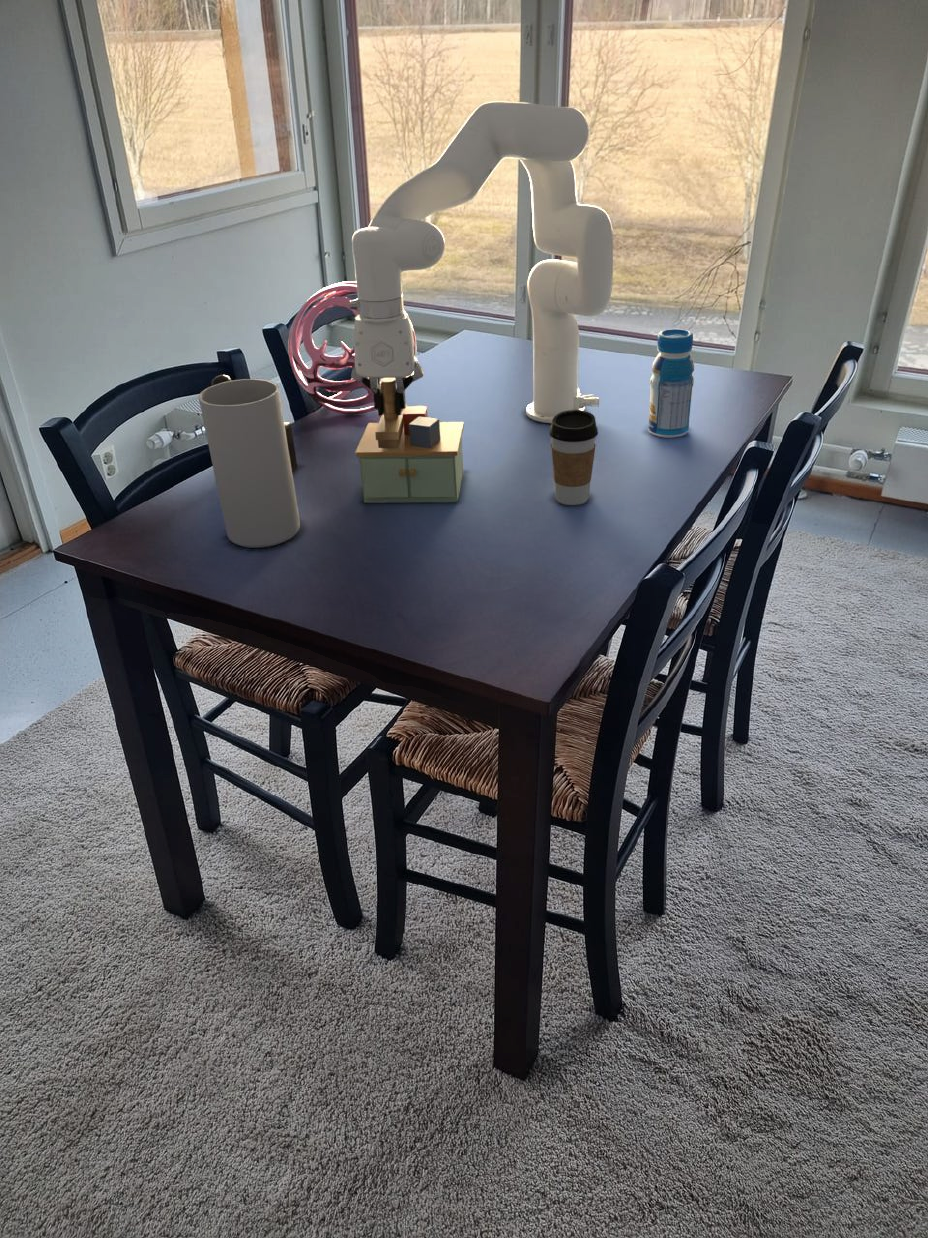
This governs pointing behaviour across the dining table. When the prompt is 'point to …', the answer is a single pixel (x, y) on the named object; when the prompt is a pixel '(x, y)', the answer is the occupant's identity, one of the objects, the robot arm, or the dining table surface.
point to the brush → (389, 417)
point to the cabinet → (412, 468)
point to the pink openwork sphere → (324, 360)
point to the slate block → (424, 432)
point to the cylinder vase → (251, 461)
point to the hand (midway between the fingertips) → (390, 411)
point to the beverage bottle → (671, 384)
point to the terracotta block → (412, 415)
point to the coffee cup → (573, 455)
